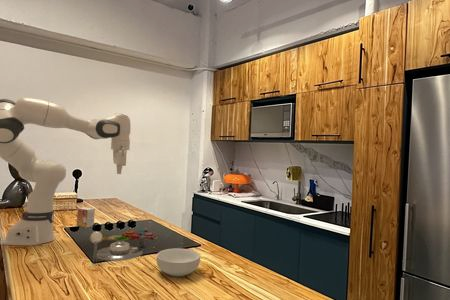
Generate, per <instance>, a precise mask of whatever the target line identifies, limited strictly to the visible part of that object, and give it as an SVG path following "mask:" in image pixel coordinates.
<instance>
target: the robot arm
mask: <svg viewBox="0 0 450 300" xmlns="http://www.w3.org/2000/svg"><path fill="white" fill-rule="evenodd" d="M27 124H30V125H36V126H40V127H45V128H48V129H49V128H51V129H70V130H73V131H77V132H81V133H84V134H86V135H87V136H89V138H91V139H92V140H101V139H102V140H103V139H104V140H105V139H109V138H110V140H111V143H110V150H111V151H112V158H113V159H112V160H113V164H114V165H116V174H117V175H121V174H122V170H123V167H126V165H127V153H128V151H130V146H131V145H130V144H131V139H130V134H131V119H130V117H129V116H128V115H125V114H122V113H114V114H113V115H111V116H109V117H105V118H99V119H91V120H89V119H84V118H80V117H78V116H73V115H71V114H69V112H68V111H67V110H66V108H64V107H63V106H61V105H60V104H56V103H54V102H51V101H48V100H43V99H40V98H34V97H25V96H24V97H20V98H18V99H17V100H16V101H13V100H11V99H7V98H1V99H0V158H1V159H2V160H4V161H5V162H6V163H8V164H9V165H11V166H12V167H13V168H14V169H16V171H17V172H18V175H19V177H21V179H23V180H25V181H28V182H30V183H35V184H34V187H33V190H32V191H31V192H30V193H29V194H28V195H27V204H26V210H25V211H23V213H22V214H21V216H20V217H21V218H22V219H21V220H19V221H17V222H16V223H15V224H13V225H12V226H11V227H9V228H8V230H7V232H6V236H5V237H3V238H2V239H0V245H3V246H32V247H33V246H37V245H41V244H46V243H49V242H52V241H54V240H56V236H55V232H54V231H55V230H54V220H55V212H54V200H55V194H56V191H57V188H58V186H59V185H60V184H61V183H62V182H63V181H64V180H65V178H66V176H67V170H66V167H65V166H64V165H63V164H61V163H60V162H56V161H51V160H43V159H40V158H39V157H38V156H36V155H35V153H36V152H35V150H34V148H32V147H31V146H30V145H28V144H27V143H26V142H25V141H24V140H22V139H21V138H20V137H19V135H20V134H22V132H23V131H24V130H25V125H27Z"/></svg>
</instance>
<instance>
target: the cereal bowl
mask: <svg viewBox="0 0 450 300" xmlns="http://www.w3.org/2000/svg"><path fill="white" fill-rule="evenodd" d="M200 260H201V254H200V253H199V252H197V251H194V250H192V249H188V248H180V247H179V248H176V247H175V248H167V249H163V250H160V251H158V252H157V254H156V265H157V267H158V268H159V270H160V271H162V272H163V273H165V274H167V275H168V276H170V277H177V278H178V277H185V276H187V275H188V274H190V273H193V272H195V270H197V268H198V267H199V265H200V262H201V261H200Z"/></svg>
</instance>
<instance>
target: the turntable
mask: <svg viewBox="0 0 450 300" xmlns="http://www.w3.org/2000/svg"><path fill="white" fill-rule="evenodd" d="M145 244H146V239H145V236H140V237H139V240H138V247H135V246H131V245H129V253H128V254H125V255H112V254H110V246H107V247H103V248H99V249H97V259H98V260H99V259H100V260H103V261H110V262H111V261H112V262H115V261H116V262H119V261H127V260H128V261H129V260H132V259H136V258H138V257H140V256H142V255H143V253H144V252H143V251H144V250H142V249H141V248H145V246H146V245H145Z"/></svg>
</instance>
